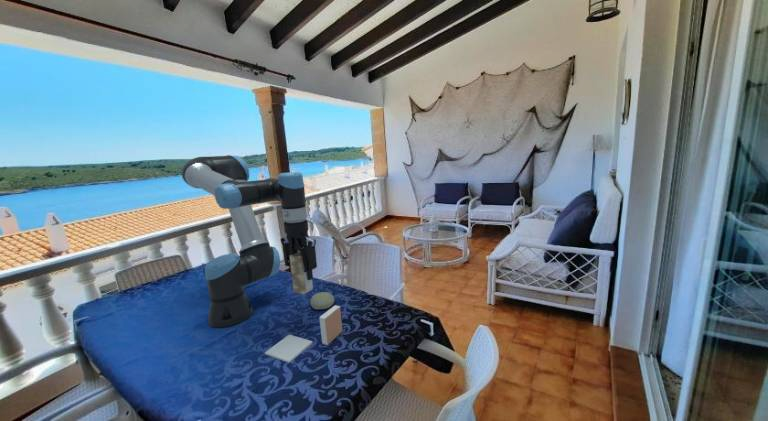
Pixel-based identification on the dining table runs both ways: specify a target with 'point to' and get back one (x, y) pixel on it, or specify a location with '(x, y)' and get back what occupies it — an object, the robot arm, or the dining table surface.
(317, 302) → the sea urchin shell
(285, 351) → the mat
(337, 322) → the tile
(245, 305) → the robot arm
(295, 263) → the beige rectangular block
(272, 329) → the dining table surface
